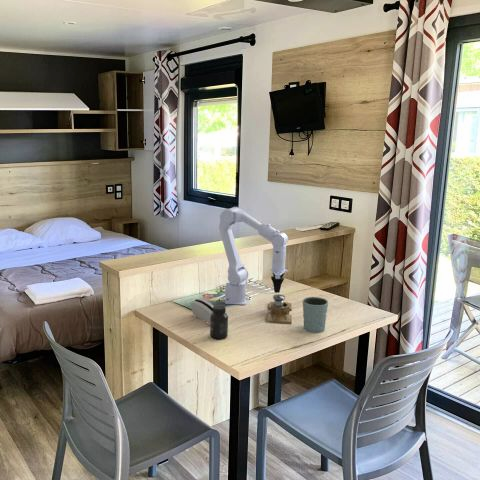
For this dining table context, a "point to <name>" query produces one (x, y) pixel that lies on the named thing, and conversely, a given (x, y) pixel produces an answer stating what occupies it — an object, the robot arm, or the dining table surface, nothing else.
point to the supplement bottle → (219, 323)
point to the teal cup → (314, 314)
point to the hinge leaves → (280, 313)
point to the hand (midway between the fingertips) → (277, 289)
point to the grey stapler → (202, 309)
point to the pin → (278, 300)
